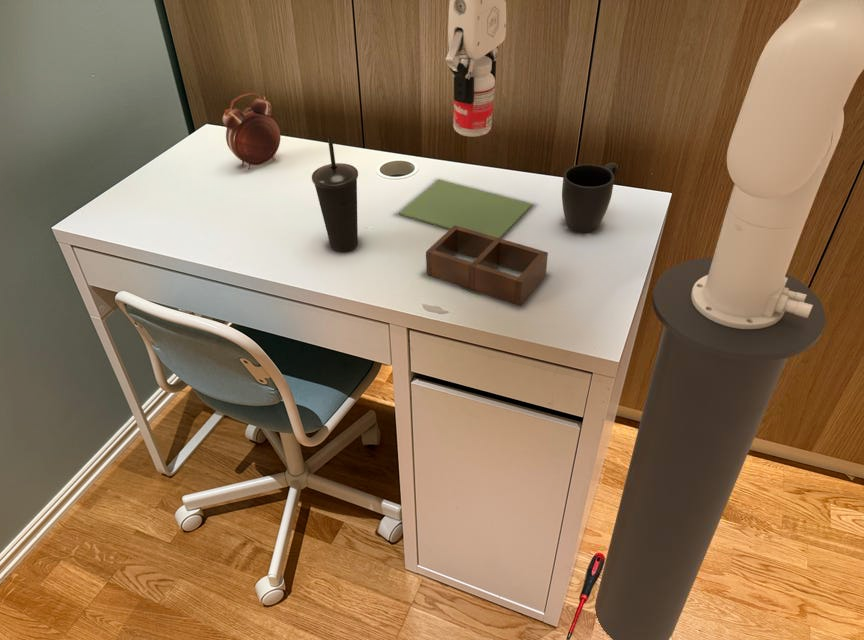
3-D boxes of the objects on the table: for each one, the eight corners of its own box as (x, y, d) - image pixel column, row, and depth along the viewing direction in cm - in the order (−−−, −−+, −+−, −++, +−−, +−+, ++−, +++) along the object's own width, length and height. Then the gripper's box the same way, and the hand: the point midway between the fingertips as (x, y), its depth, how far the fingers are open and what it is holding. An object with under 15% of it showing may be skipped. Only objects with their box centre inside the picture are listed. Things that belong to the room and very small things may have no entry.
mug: (629, 215, 126) (638, 166, 119) (586, 243, 120) (594, 193, 114) (591, 199, 131) (597, 151, 124) (548, 225, 125) (553, 176, 119)
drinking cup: (349, 228, 129) (336, 122, 116) (374, 245, 125) (363, 137, 111) (314, 244, 126) (296, 137, 113) (338, 262, 122) (322, 153, 108)
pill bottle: (448, 123, 117) (450, 55, 110) (483, 118, 118) (488, 50, 111) (460, 140, 113) (464, 70, 105) (496, 134, 114) (503, 65, 106)
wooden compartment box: (545, 275, 114) (548, 252, 111) (520, 305, 109) (521, 282, 106) (454, 247, 122) (454, 224, 119) (426, 274, 117) (425, 251, 114)
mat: (532, 205, 131) (532, 203, 130) (495, 243, 122) (495, 241, 122) (438, 181, 140) (438, 179, 139) (399, 214, 132) (399, 212, 131)
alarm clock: (275, 152, 155) (262, 83, 144) (286, 159, 151) (273, 89, 141) (230, 168, 150) (213, 98, 140) (240, 176, 147) (224, 105, 137)
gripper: (470, -14, 93) (468, 119, 105) (528, -47, 103) (521, 77, 115) (421, -19, 96) (425, 110, 108) (482, -51, 106) (480, 70, 118)
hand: (474, 92), depth 111 cm, fingers closed on pill bottle, 6 cm apart
